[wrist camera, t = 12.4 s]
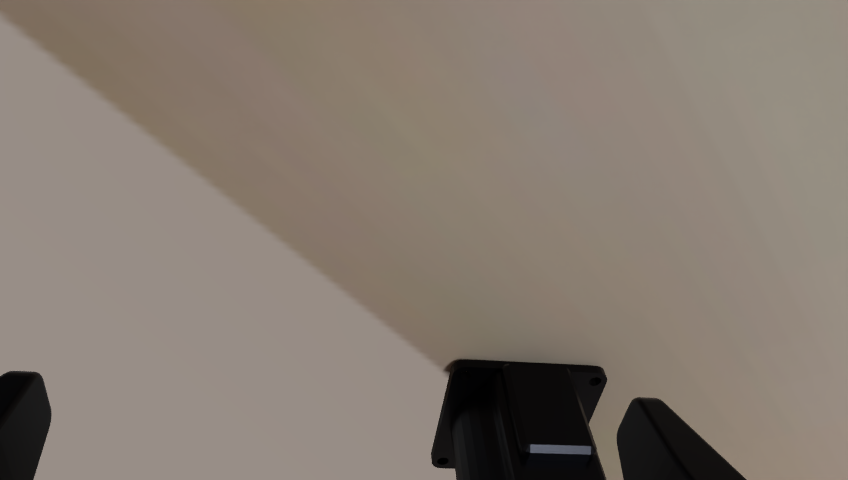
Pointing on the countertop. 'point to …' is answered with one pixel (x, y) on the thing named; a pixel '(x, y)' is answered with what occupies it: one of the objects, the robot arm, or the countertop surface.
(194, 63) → the countertop surface
